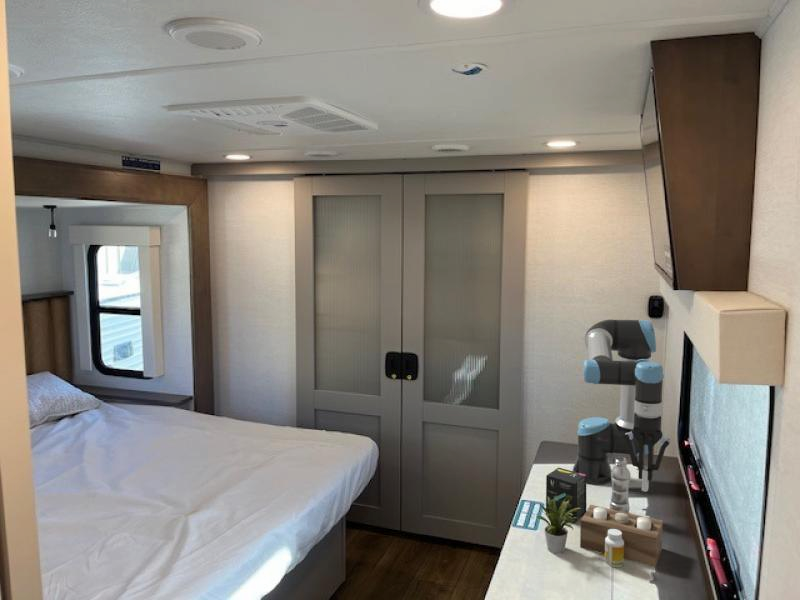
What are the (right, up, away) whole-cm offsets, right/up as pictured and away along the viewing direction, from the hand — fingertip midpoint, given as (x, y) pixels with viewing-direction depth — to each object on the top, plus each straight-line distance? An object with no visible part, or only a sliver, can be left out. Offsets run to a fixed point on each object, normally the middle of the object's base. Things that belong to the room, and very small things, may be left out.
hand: (645, 489), depth 184 cm
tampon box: (-16, -18, +28) cm, 37 cm away
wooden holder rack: (-5, -20, +6) cm, 21 cm away
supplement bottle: (-10, -21, -2) cm, 24 cm away
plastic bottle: (+2, -17, +27) cm, 32 cm away
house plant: (-26, -21, +4) cm, 33 cm away
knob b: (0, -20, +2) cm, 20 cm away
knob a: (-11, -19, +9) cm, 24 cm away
